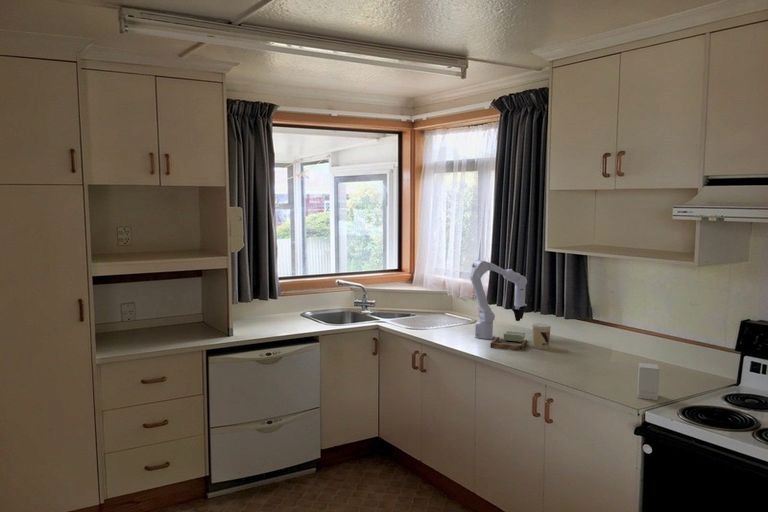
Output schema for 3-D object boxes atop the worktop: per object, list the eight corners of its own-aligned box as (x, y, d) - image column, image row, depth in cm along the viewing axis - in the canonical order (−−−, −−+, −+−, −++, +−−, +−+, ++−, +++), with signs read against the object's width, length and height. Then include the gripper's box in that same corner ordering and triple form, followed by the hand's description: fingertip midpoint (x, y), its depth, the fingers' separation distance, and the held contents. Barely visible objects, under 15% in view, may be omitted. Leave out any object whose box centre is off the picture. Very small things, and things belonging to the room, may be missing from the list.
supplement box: (658, 400, 237) (659, 369, 236) (637, 398, 240) (639, 367, 239) (657, 394, 244) (658, 364, 243) (637, 392, 247) (638, 362, 246)
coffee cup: (543, 350, 314) (543, 327, 312) (528, 347, 321) (528, 324, 320) (553, 347, 320) (554, 325, 318) (538, 344, 327) (539, 322, 326)
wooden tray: (490, 347, 319) (490, 342, 319) (497, 341, 333) (497, 336, 333) (521, 350, 313) (521, 346, 312) (527, 344, 327) (527, 339, 326)
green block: (503, 341, 333) (503, 333, 333) (506, 338, 340) (506, 330, 340) (521, 343, 329) (522, 335, 329) (524, 340, 336) (524, 332, 336)
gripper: (524, 298, 336) (523, 322, 337) (529, 294, 349) (528, 318, 350) (511, 297, 339) (511, 321, 340) (516, 293, 352) (516, 317, 353)
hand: (519, 319), depth 345 cm, fingers open, 7 cm apart
